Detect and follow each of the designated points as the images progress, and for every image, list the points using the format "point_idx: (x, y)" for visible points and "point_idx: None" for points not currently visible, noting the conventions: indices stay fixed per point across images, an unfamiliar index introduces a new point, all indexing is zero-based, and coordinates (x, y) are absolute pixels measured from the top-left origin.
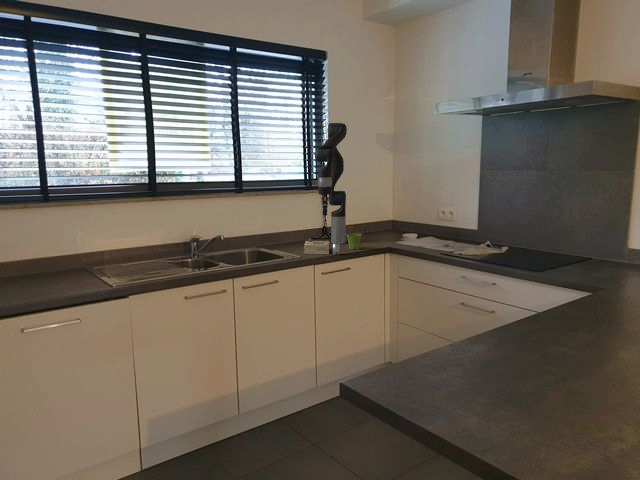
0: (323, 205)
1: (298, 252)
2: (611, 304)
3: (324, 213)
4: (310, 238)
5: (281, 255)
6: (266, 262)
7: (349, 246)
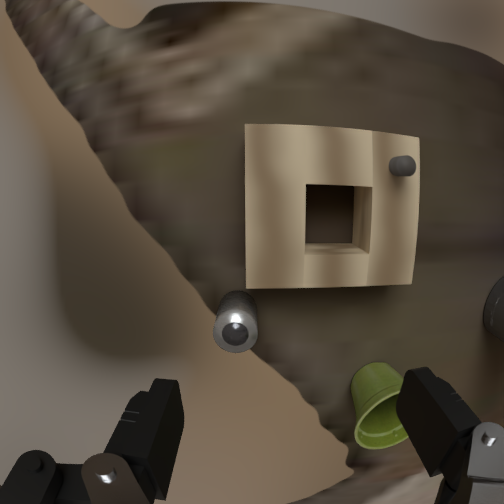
0: (13, 488)
1: (305, 101)
2: None
3: (131, 411)
4: (400, 166)
5: (221, 28)
6: (79, 19)
7: (370, 370)
